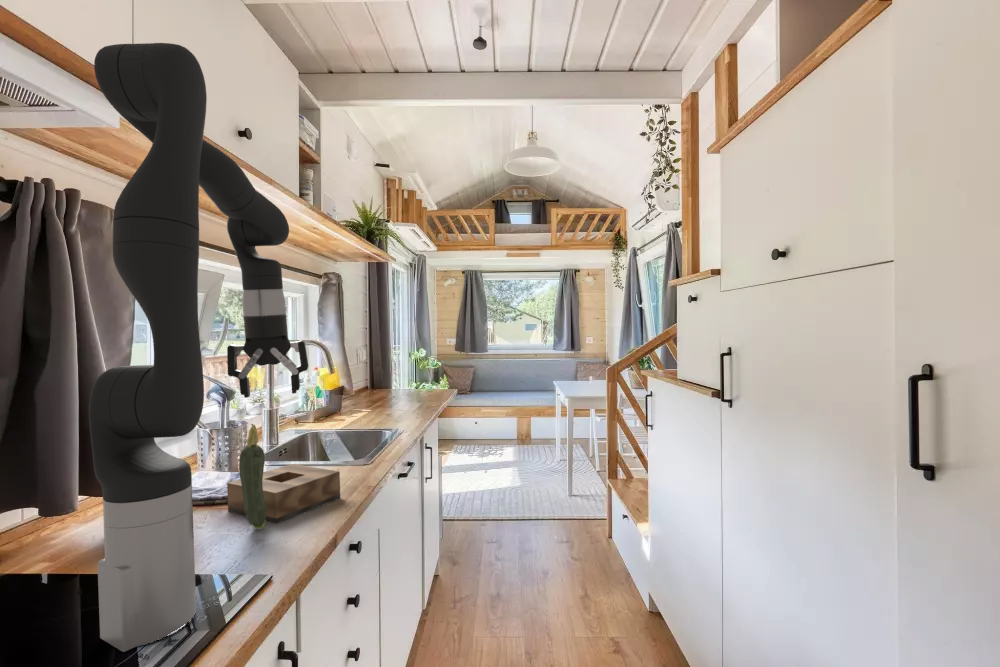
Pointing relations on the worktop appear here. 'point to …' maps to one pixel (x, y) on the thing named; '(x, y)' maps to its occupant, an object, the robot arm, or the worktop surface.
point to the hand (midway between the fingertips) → (271, 394)
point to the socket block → (290, 491)
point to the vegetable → (253, 480)
